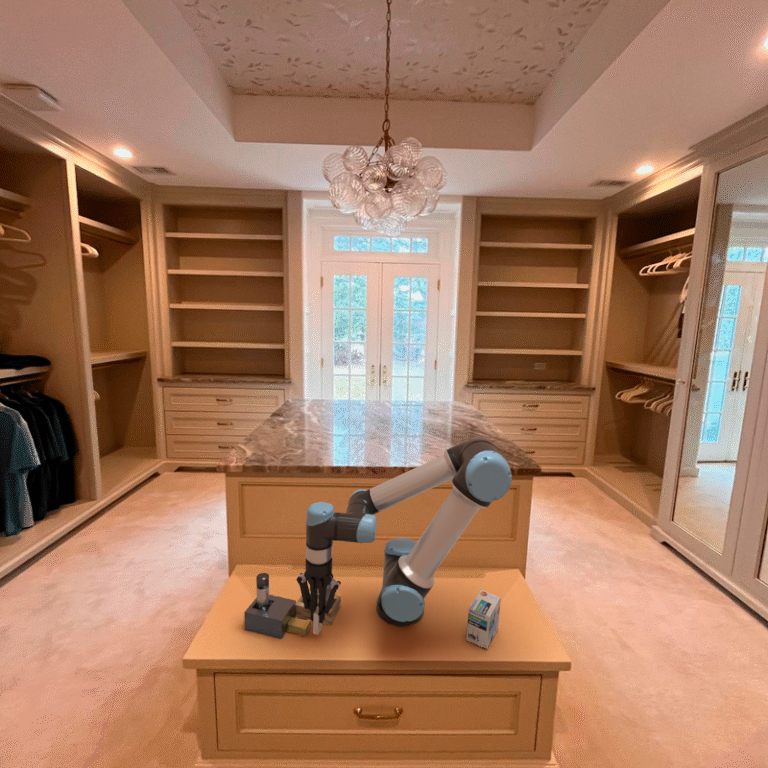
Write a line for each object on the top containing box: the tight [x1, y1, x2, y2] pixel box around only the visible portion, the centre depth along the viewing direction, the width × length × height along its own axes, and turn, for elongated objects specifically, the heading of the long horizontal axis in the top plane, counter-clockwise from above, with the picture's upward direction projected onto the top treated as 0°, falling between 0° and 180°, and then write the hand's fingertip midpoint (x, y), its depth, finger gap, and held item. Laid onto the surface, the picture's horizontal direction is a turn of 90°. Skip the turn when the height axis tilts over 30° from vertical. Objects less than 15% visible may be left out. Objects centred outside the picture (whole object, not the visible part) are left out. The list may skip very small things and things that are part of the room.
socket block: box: [243, 594, 297, 640], centre depth 126 cm, size 12×9×6 cm
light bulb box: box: [465, 589, 502, 649], centre depth 126 cm, size 11×7×11 cm, turn 148°
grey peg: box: [255, 572, 270, 611], centre depth 126 cm, size 4×4×12 cm
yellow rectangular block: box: [285, 617, 312, 638], centre depth 125 cm, size 11×4×3 cm, turn 76°
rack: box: [296, 583, 342, 626], centre depth 132 cm, size 12×8×11 cm, turn 76°
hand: (317, 630), depth 123 cm, fingers closed
